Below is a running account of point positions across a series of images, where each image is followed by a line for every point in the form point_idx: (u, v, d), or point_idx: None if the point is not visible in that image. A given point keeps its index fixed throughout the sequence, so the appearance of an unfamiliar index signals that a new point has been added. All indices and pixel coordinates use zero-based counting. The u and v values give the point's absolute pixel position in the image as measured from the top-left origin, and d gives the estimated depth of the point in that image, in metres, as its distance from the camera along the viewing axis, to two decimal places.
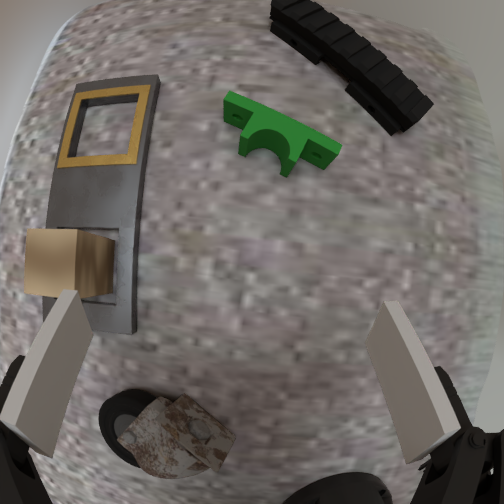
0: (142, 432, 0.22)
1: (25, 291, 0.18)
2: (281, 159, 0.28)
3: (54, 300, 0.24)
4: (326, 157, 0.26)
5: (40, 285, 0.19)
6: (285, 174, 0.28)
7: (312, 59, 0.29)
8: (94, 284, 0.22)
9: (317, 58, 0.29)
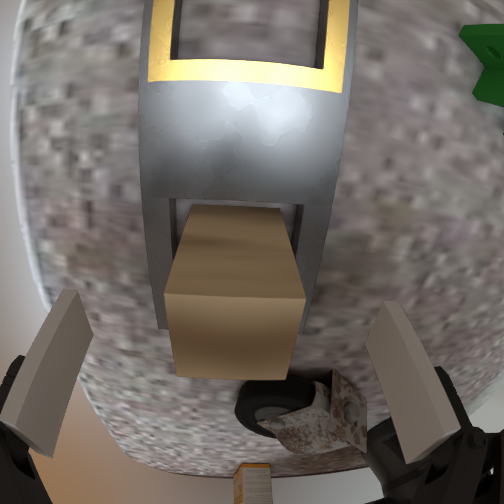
0: (294, 420, 0.24)
1: (178, 374, 0.13)
2: None
3: None
4: None
5: (214, 369, 0.13)
6: None
7: None
8: None
9: None
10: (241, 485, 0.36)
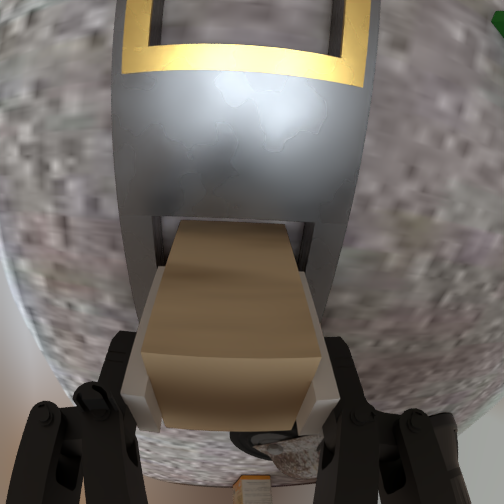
0: (293, 446, 0.21)
1: (168, 425, 0.10)
2: None
3: None
4: None
5: (208, 423, 0.10)
6: None
7: None
8: None
9: None
10: (241, 497, 0.34)
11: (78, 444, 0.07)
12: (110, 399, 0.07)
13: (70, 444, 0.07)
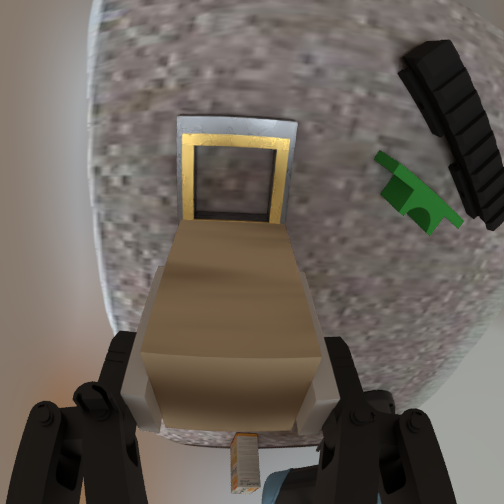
0: None
1: (167, 425, 0.10)
2: None
3: None
4: None
5: (208, 423, 0.10)
6: None
7: (432, 130, 0.25)
8: None
9: (438, 135, 0.24)
10: (236, 449, 0.53)
11: (78, 444, 0.07)
12: (110, 399, 0.07)
13: (70, 445, 0.07)
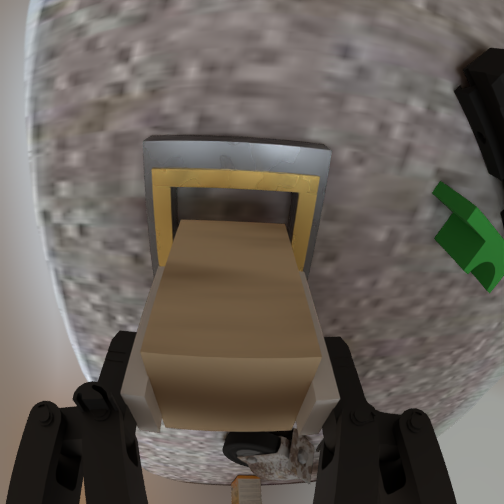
0: (263, 459, 0.33)
1: (167, 425, 0.10)
2: None
3: None
4: None
5: (208, 423, 0.10)
6: None
7: (490, 169, 0.17)
8: None
9: (498, 177, 0.16)
10: (237, 492, 0.44)
11: (78, 444, 0.07)
12: (110, 399, 0.07)
13: (70, 445, 0.07)
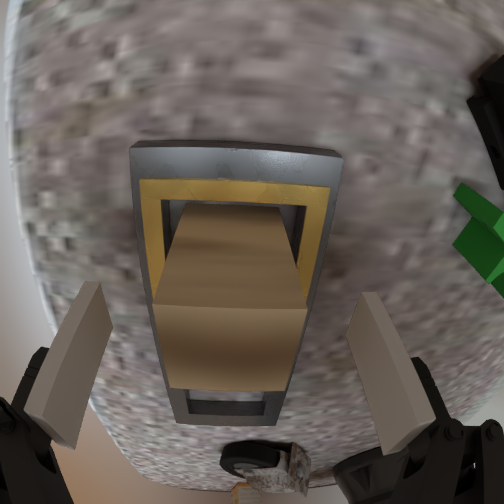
0: (261, 472, 0.31)
1: (172, 385, 0.12)
2: None
3: (189, 414, 0.25)
4: None
5: (208, 381, 0.12)
6: None
7: (503, 185, 0.15)
8: None
9: None
10: (237, 500, 0.43)
11: None
12: (9, 409, 0.06)
13: None
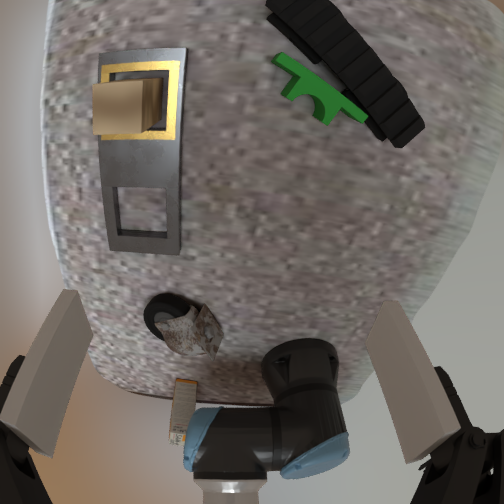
0: (175, 326, 0.44)
1: (94, 133, 0.24)
2: (316, 105, 0.31)
3: (118, 236, 0.38)
4: (353, 117, 0.30)
5: (109, 126, 0.24)
6: (316, 118, 0.32)
7: (311, 60, 0.28)
8: (151, 117, 0.27)
9: (316, 63, 0.27)
10: (174, 395, 0.56)
11: None
12: None
13: None
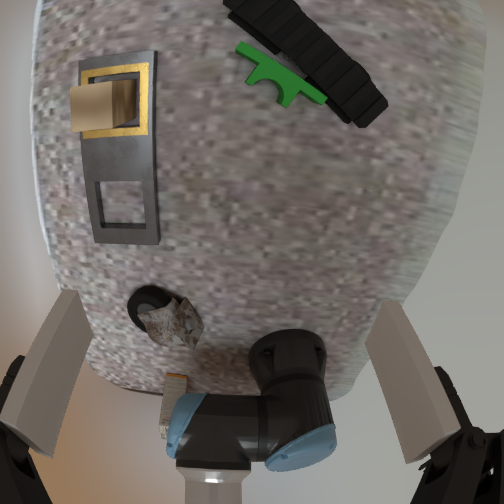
0: (156, 317, 0.46)
1: (72, 130, 0.26)
2: (279, 91, 0.32)
3: (101, 228, 0.39)
4: (314, 100, 0.31)
5: (85, 123, 0.26)
6: None
7: (271, 51, 0.29)
8: (124, 114, 0.29)
9: (276, 53, 0.29)
10: (164, 389, 0.57)
11: None
12: None
13: None
